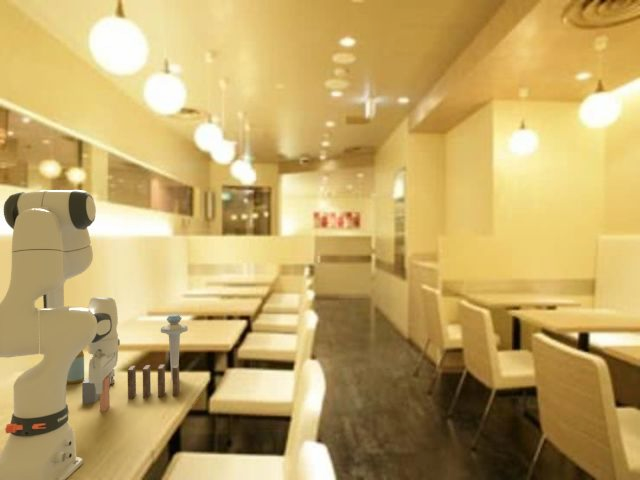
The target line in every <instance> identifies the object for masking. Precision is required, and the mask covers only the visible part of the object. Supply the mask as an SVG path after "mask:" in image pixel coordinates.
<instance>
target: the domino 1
mask: <svg viewBox="0 0 640 480" xmlns="http://www.w3.org/2000/svg"><path fill="white" fill-rule="evenodd" d="M102 387H103V392H102V393H101V394H100V398H99V412H106V411H108V408H109V407H110V405H111V404H110V403H111V402H110V384H109V376H106V377H105V378H104V380H103V382H102Z"/></svg>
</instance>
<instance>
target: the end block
mask: <svg viewBox="0 0 640 480" xmlns="http://www.w3.org/2000/svg"><path fill="white" fill-rule="evenodd" d="M81 385H82V386H81V391H82V392H81V393H82V394H81V395H82V396H81V397H82V400H81V401H82V404H96V402H97V401H99V400H100V394H96V388H95V385H94V383H89V376H87V377H86V379H84V380H83V381H82V382H81Z"/></svg>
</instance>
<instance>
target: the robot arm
mask: <svg viewBox="0 0 640 480" xmlns="http://www.w3.org/2000/svg"><path fill="white" fill-rule="evenodd" d="M96 208H97V207H96V204H95V200H94V198H93V196H92V195H91V193H88V191H85V190H80V189H72V190H63V189H60V190H58V189H56V190H55V189H54V190H51V189H44V190H43V189H42V190H41V189H40V190H35V191H33V190H32V191H29V192H24V191H22V192H17V193H13V194H11V195H9V196H8V198H6V200H5V202H4V205H3V216H4V220H5V222H6V223H7V225H8V226H9V227H10V228H11V229H12V230H13V231H12V241H11V269H10V270H11V271H10V282H9V286H8V289H7V292H6V293H5V295H4V297H3V299H2V301H0V358H6V359H7V358H15V357H23V356H24V357H25V356H31V355H43V358H42V360H41V361H40V362H39V363H37V364H36V365H35V366H33V367H31V368H29V369H27V370H26V371H24V372H23V373H21V374H20V375H19V376H18V377H17V378H16V379H15V381H14V383H13V413H12V414H11V415H12V416H11V419H10V423H7V424H6V426H5V428H4V429H5V433H6V434H9V435H8V438H7V440H6V442H5V445H4V446H3V449H2V451H1V454H0V480H66V479H67V478H68V477H70V476H71V475H72V474H73V473H74V472H75V471H76V470H78V469H79V467H81V466H82V465H83V463H84V461H83V458H82V457H80V456H77V444H76V443H77V442H76V432H75V430H74V428H72V427H71V426H70V424H69V423H68V421H69V415H70V413H69V407H68V404H67V385H68V384H67V376H68V372H69V369H70V367H71V365H72V363H73V361H74V360H75V358H76V357H77V355H78V354H79V353H80V352H81V351H82V350H84V349H86V347H87V349H88V354H90V355H92V357H91V358H90V359H89V363H88V377H89V383H94V385H95V388H96V394H101V393H102V392H103V387H102V382H103V380H104V378H105V377H106V376H109V385H111V384H110V382H111V376H112V369H115V367H116V366H117V363H118V355H119V346H120V343H121V342H120V341H121V340H120V338H118V337H119V335H118V331H117V327H118V324H119V322H118V321H119V320H118V307H117V303H116V300H115V299H114V298H112V297H101V296H100V297H99V296H98V297H92V298H90V299H89V304H88V307H81V306H79V307H78V306H69V305H68V306H65V292H64V291H65V290H64V287H65V282H66V281H68V280H71V279H72V278H75V277H76V276H79V275H80V274H83V273H84V272H85V271H87V270H88V269H89V268H90V266H91V264H92V262H93V257H94V253H93V248H92V242H91V237H90V233H89V229H88V227H90V226H91V225H92V224H93V223H94V221H95V218H96V215H97V214H96V212H97V209H96ZM41 297H42V298H43V299H42V300H43V307H42V308H41V307H40V308H39V307H36V306H35V305H36V302H37V300H38V299H39V298H41Z"/></svg>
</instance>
